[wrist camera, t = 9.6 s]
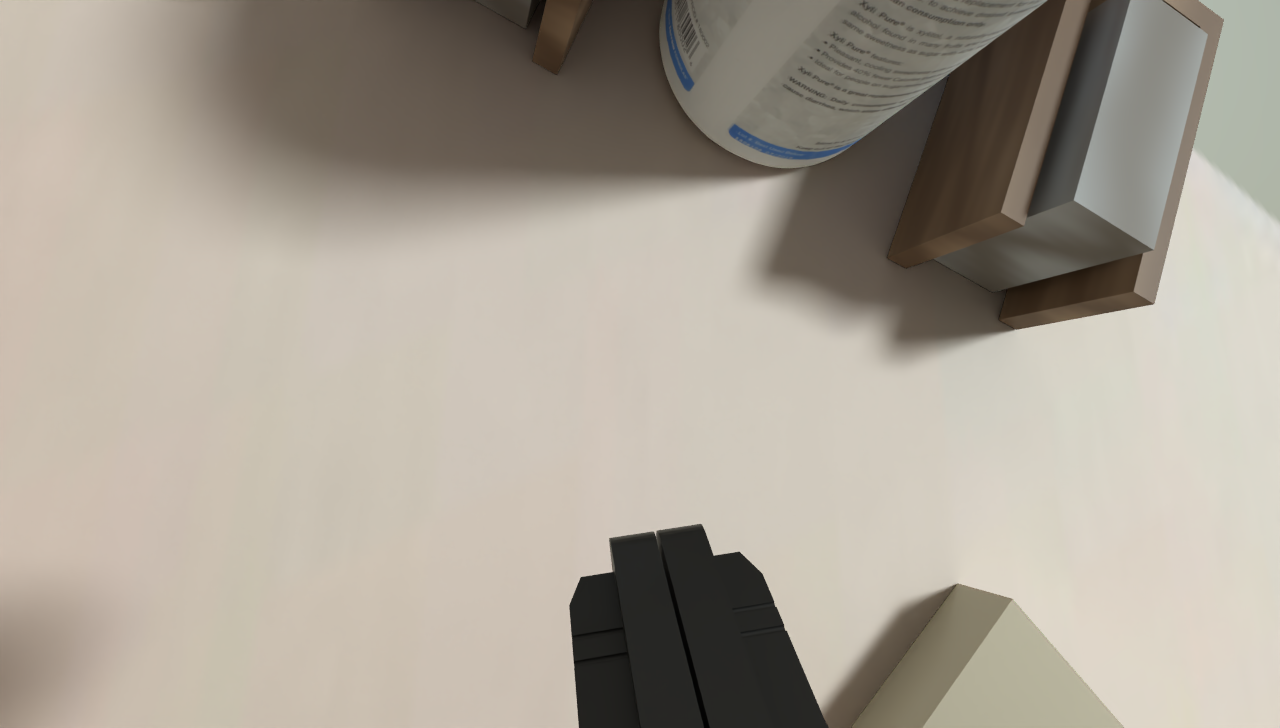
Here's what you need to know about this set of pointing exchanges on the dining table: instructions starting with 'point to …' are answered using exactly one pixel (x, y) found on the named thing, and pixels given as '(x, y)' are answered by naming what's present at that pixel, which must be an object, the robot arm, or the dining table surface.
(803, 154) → the supplement tub
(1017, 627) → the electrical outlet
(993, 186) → the rack
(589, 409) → the dining table surface
